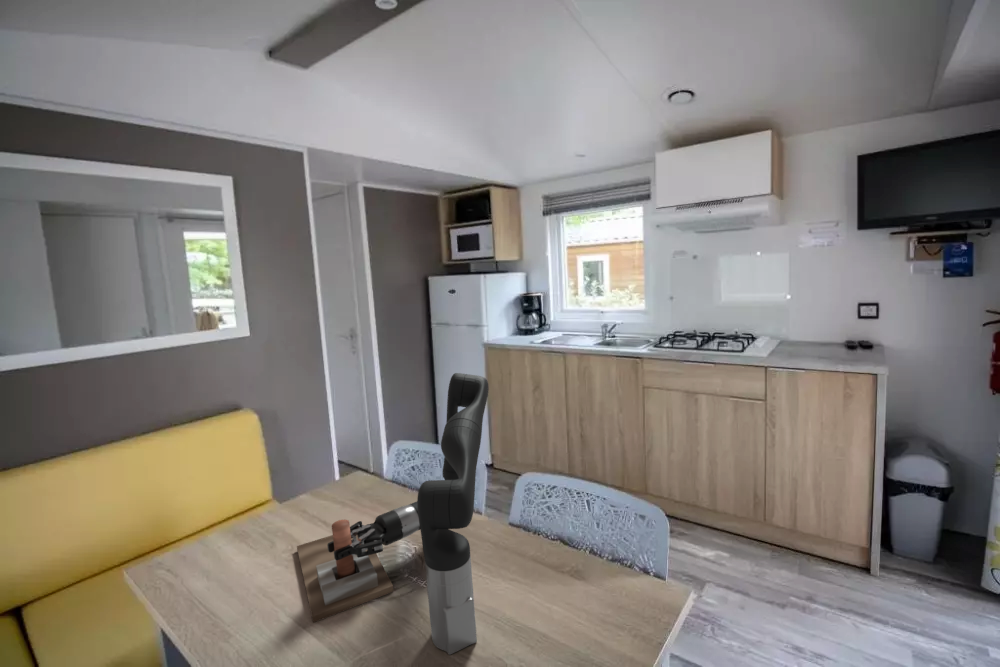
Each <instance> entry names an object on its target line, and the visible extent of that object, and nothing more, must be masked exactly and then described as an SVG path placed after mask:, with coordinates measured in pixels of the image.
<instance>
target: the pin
mask: <svg viewBox="0 0 1000 667" xmlns="http://www.w3.org/2000/svg"><path fill="white" fill-rule="evenodd" d="M350 527H351V525H350V521H349V520H348V519H339V520H336V521H334V522H333V523H332V524H331V531H332V532H331V533H332V535H333V541H334V549H335V551H336V550H338V549H340V548H343V547H346V546H348V545H350V546H351V544H352V541H351V533H350ZM336 565H337V573H338V580H339V579H342V578H344V577H347V576H350V575H353V574H355V566H354V558H353V555H352V554H351V555H349V556H347V557H345V558H342V559H340V560H336Z"/></svg>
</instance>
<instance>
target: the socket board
mask: <svg viewBox="0 0 1000 667" xmlns="http://www.w3.org/2000/svg"><path fill="white" fill-rule="evenodd" d="M352 539H353V538H352ZM352 539H351V540H352ZM356 540H358V536H357V535H356ZM332 541H333V534H331V535H328V536H325V537H322V538H319V539H315V540H312V541H309V542H305V543H302V544H299V545H296V550H297V555H298V560H299V564H300V568H301V573H302V578H303V583H304V586H305V587H304V588H305V591H306V596H307V601H308V605H309V610H310V615H311V619H312V623H316V622H318V621H322V620H324V619H326V618H330V617H331V616H334V615H336V614H339V613H341V612H344V611H348V610H350V609H352V608H354V607H355V608H356V607H358V606H360V605H362V604H366V603H367V602H368V603H369V602H370V601H373V600H376V599H378V598H380V597H381V598H382V597H383V596H385V595H388V593H389V594H391V593H393V591H394V585H393V583H392V581H391V579H390V577H389V575H388V574H387V571H386V569H385V568H384V565H383V564H382V562H381V560H380V557H379V556H378V553H376V554H372V555H368V556H364V557H359V558H358V557H357V555H353V558H354V566H355V574H353V575H350V576H347V577H344V578H342V579H339V580H338V573H337V565H336V560H335V558H334V551H333V552H329V551H328V546H327V545H328V543H330V542H332ZM366 551H367V550H366ZM364 552H365V551H364ZM390 592H391V593H390Z"/></svg>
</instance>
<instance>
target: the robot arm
mask: <svg viewBox="0 0 1000 667" xmlns="http://www.w3.org/2000/svg"><path fill="white" fill-rule="evenodd" d="M489 390H490V389H489V382H488V379H487V378H486V377H484V376H481V375H478V374H477V375H476V374H467V373H461V372H455V373H453V374H452V375H451V377H450V380H449V384H448V390H447V401H446V402H447V403H446V404H447V405H446V422H445V425H444V429H443V433H442V436H441V441H440V448H441V453H442V455H443V458H444V459H443V465H442V478H443V479H442V480H441V479H439V480H437V479H435V480H434V479H432V480H426V481H424V482H422V483H421V485H420V486H419V489H418V492H417V498H416V499H417V500H416V501H415V502H412V503H410V504H407V505H403V506H399V507H397V508H395V509H392V510H389V511H386V512H384V513H382V514H379V515H377V516H376V518H375V520H374V522H373V523H368V524H365V525H364V524H363V521H362V520H359V521H357V522H355V523H354V524H352V525H350V533H351V539H352V538H353V539H352V540H351V541H352V544H351V546H350V545H348V546H346V547H343V548H340V549H338V550H336V551H335V549H334V541H332V542H330V543H328V545H327V546H328V551H329V552H333V551H334V558H335V560H340V559H342V558H345V557H347V556H349V555H351V554H352V555H357V557H358V558H359V557H364V556H368V555H372V554H379V553H382V552H384V551H383V550H384V547H383V546H390V545H391V544H393V543H396V542H398V541H401V540H402V539H405V538H406V537H409V536H411V535H412V534H414V533H416V532H418V531H420V536H421V543H422V545H421V546H422V551H423V552H422V553H423V555H424V565H425V566H424V567H425V577H426V578H425V579H426V589H427V600H428V612H429V622H430V633H431V641H432V643H433V644H434V646H435V647H436V648H438V649H440V650H441V651H445V652H446V653H447V654H448V655H452V654H455V653H456V652H458V651H460V650H463V649H465V648H466V647H468V646H469V647H470V646H471V645H474V644H476V643H477V640H478V639H477V624H476V611H475V596H474V586H473V572H472V571H473V570H472V558H471V547H470V546H471V545H470V543H469V540H468V539H467V537H466V536H464V535H463V534H461V533H459V532H456V531H454V530H459V529H465V528H467V527H469V525H470V524H471V522H472V518H473V514H474V509H475V497H476V496H475V493H476V474H477V466H478V461H479V453H480V448H481V443H482V442H481V441H482V435H483V434H482V433H483V421H484V414H485V409H486V405H487V402H488V396H489ZM459 407H462V408H463V409H461V410H460V411H458V410H459ZM356 535H357V536H358V540H356ZM366 550H367V551H366ZM364 551H365V552H364Z"/></svg>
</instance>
